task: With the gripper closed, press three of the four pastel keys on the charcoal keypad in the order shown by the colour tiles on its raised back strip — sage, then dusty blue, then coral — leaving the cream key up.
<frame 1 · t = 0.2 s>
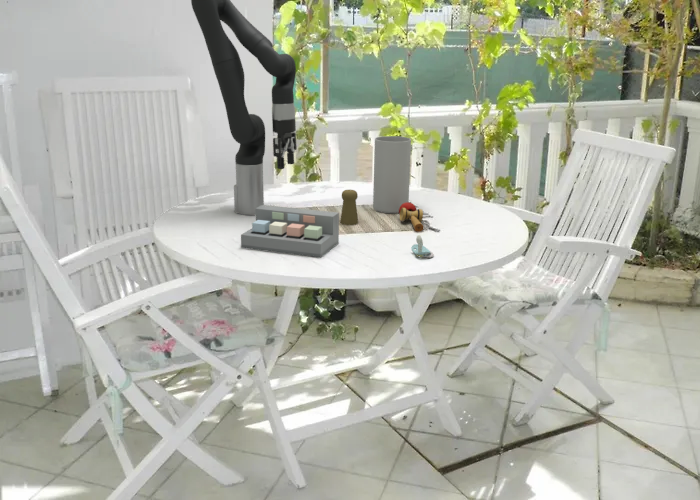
hand: (286, 166, 251), 17 cm above the table, tool pointing down, fingers open, 8 cm apart
pacifier: (423, 256, 218), on the table
olive ball-ended cylinder: (349, 223, 250), on the table
keypad: (290, 245, 225), on the table
cylinder vase: (390, 210, 267), on the table
key blue: (261, 228, 223), point 5 cm above the table, slide at 0.0 cm
kendama: (412, 225, 249), on the table
key sage: (313, 234, 218), point 5 cm above the table, slide at 0.0 cm
key cream: (278, 230, 222), point 5 cm above the table, slide at 0.0 cm
key coral: (295, 232, 220), point 5 cm above the table, slide at 0.0 cm
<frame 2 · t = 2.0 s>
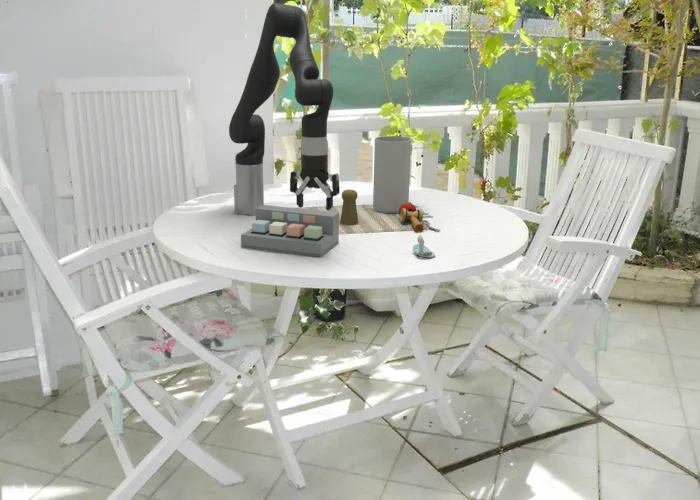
hand: (314, 208, 216), 13 cm above the table, tool pointing down, fingers open, 8 cm apart
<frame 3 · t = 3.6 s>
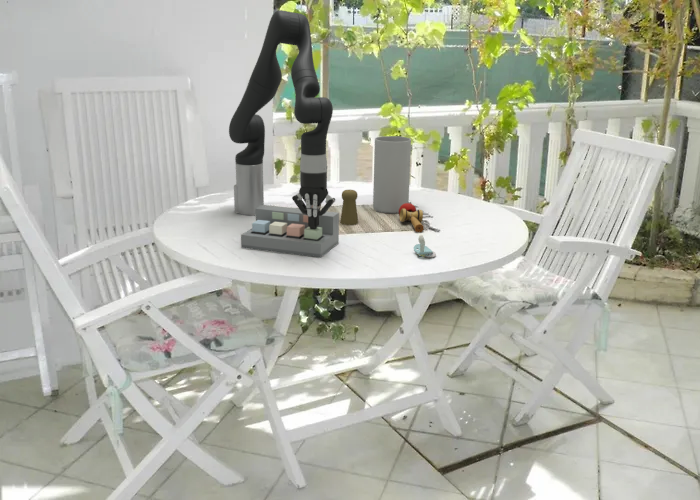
hand: (313, 228, 218), 7 cm above the table, tool pointing down, fingers closed
key sage: (313, 234, 218), point 5 cm above the table, slide at 0.2 cm, touching gripper
everything else where it was.
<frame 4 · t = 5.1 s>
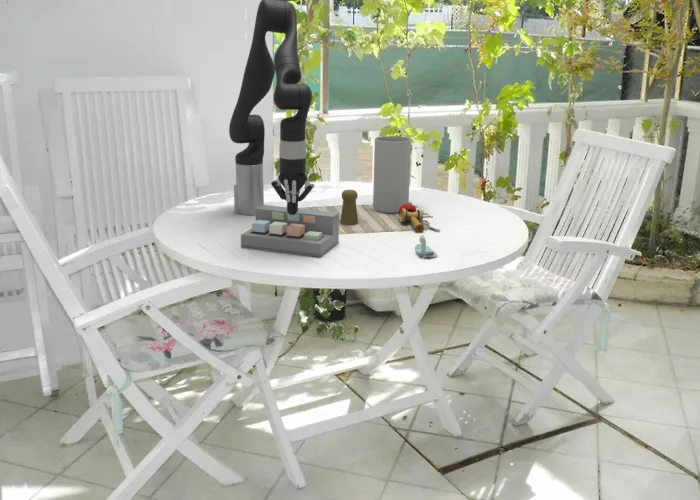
hand: (292, 214, 220), 10 cm above the table, tool pointing down, fingers closed
key sage: (313, 239, 219), point 3 cm above the table, slide at 1.7 cm
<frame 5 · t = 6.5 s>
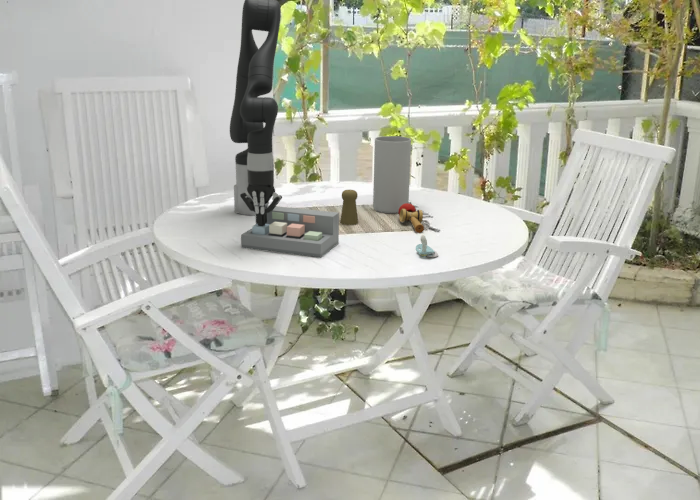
hand: (261, 225, 223), 6 cm above the table, tool pointing down, fingers closed
key blue: (261, 231, 224), point 4 cm above the table, slide at 1.0 cm, touching gripper
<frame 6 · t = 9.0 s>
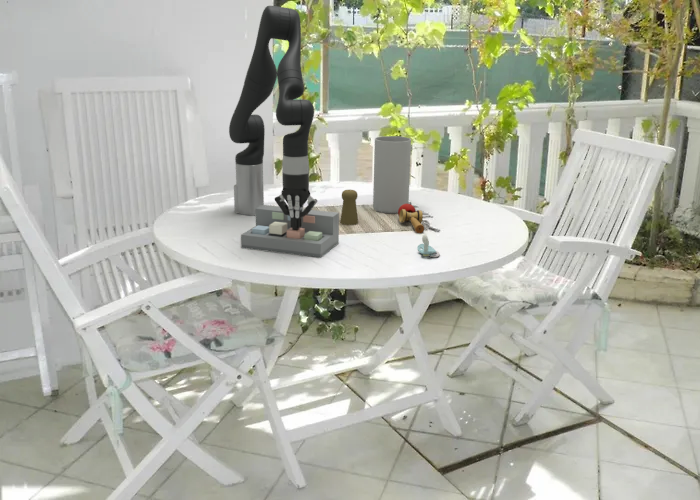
hand: (296, 229, 220), 6 cm above the table, tool pointing down, fingers closed
key blue: (261, 233, 224), point 3 cm above the table, slide at 1.7 cm
key coral: (295, 235, 220), point 4 cm above the table, slide at 1.1 cm, touching gripper
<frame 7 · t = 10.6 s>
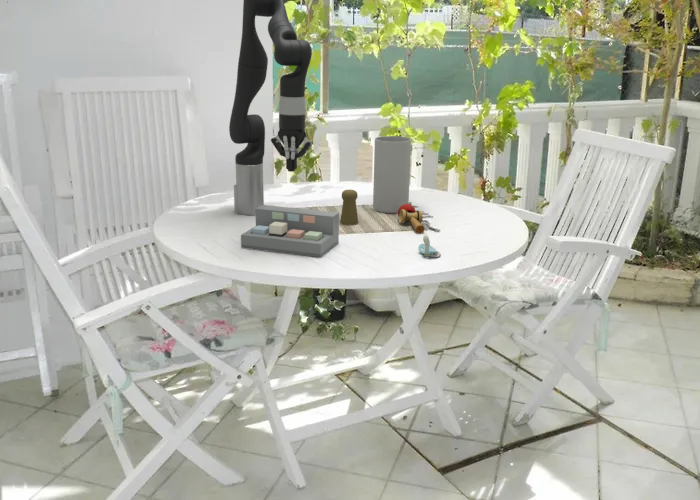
hand: (291, 171, 222), 22 cm above the table, tool pointing down, fingers closed
key coral: (295, 237, 221), point 3 cm above the table, slide at 1.7 cm
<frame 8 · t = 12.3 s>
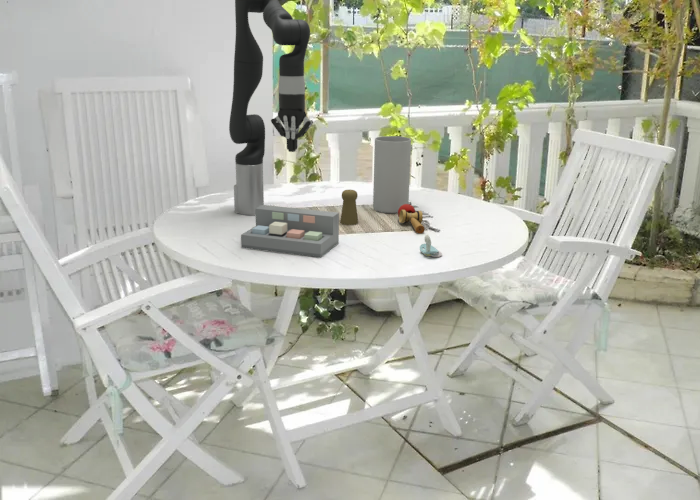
hand: (292, 151, 223), 27 cm above the table, tool pointing down, fingers closed
at the end: key sage slide at 1.7 cm; key blue slide at 1.7 cm; key coral slide at 1.7 cm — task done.
